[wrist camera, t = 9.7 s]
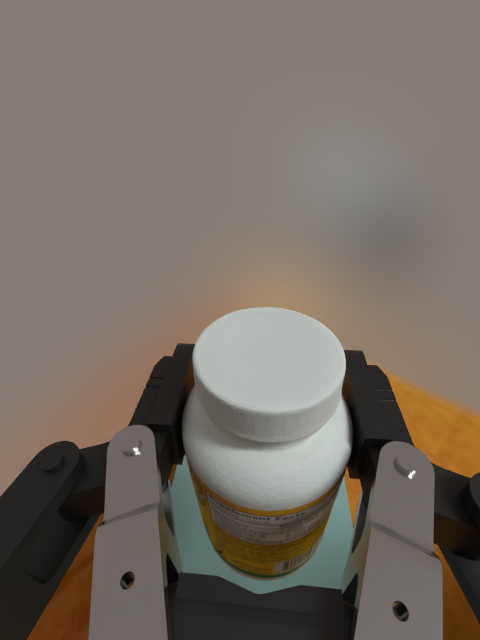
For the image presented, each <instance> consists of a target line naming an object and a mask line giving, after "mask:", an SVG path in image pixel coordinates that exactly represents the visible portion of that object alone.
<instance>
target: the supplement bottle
mask: <svg viewBox="0 0 480 640" xmlns="http://www.w3.org/2000/svg"><path fill="white" fill-rule="evenodd" d="M192 362H193V372H194V380H195V385H194V387H193V389H192V390H191V392H190V394H189V396H188V398H187V401H186V403H185V407H184V410H183V416H182V439H183V445H184V450H185V454H186V458H187V462H188V466H189V471H190V474H191V479H192V482H193V486H194V490H195V493H196V497H197V500H198V504H199V508H200V512H201V516H202V520H203V523H204V526H205V529H206V532H207V535H208V538H209V540H210V542H211V545H212V547H213V549H214V550H215V552H216V554H217V555H218V557H219V558H220V559H221V560H222V561H223V562H224V563H225V564H226V565H227V566H228V567H229V568H231V569H232V570H233V571H235V572H236V573H238V574H240V575H242V576H245V577H247V578H251V579H254V580H259V581H273V580H279V579H283V578H286V577H288V576H290V575H292V574H294V573H296V572H297V571H299V570H300V569H301V568H303V567H304V566H305V565H306V564H307V563H308V562H309V561H310V559H311V558H312V557H313V555H314V554H315V552H316V551H317V549H318V546H319V544H320V542H321V540H322V538H323V535H324V532H325V529H326V526H327V523H328V520H329V516H330V513H331V510H332V508H333V505H334V502H335V499H336V497H337V494H338V491H339V488H340V486H341V483H342V480H343V477H344V474H345V471H346V468H347V465H348V462H349V459H350V455H351V450H352V445H353V425H352V419H351V415H350V411H349V408H348V406H347V403H346V401H345V399H344V397H343V396H342V394H341V393H342V385H343V380H344V376H345V370H346V359H345V353H344V350H343V348H342V346H341V344H340V342H339V340H338V339H337V338H336V336H335V335H334V334H333V333H332V332H331V331H330V330H329V329H328V328H327V327H325V326H324V325H323V324H321V323H320V322H319V321H317V320H315V319H313V318H311V317H309V316H307V315H304V314H301V313H299V312H295V311H291V310H287V309H282V308H273V307H260V308H250V309H242V310H238V311H235V312H232V313H229V314H227V315H225V316H222V317H221V318H219V319H217V320H215V321H214V322H213V323H211V324H210V325H209V326H208V327H207V328H205V329H204V330H203V332H202V333H201V334H200V336H199V337H198V339H197V341H196V343H195V346H194V350H193V354H192Z"/></svg>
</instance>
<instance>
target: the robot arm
mask: <svg viewBox="0 0 480 640" xmlns="http://www.w3.org/2000/svg"><path fill="white" fill-rule="evenodd" d="M194 346H195V344H178V345H177V346H176V348H175V351H174V354H173V356H172V357H170V356H164V357H163V358H162V359H161V360H160V361H159V362H158V363H157V364H156V365H155V366H154V368H153V371H152V373H151V375H150V379H149V380H148V382H147V384H146V388H145V389H144V391H143V394H142V396H141V398H140V401H139V403H138V405H137V408H136V410H135V412H134V414H133V417H132V419H131V422H130V424H129V426H128V427H126V428H124V429H122V430H121V431H119V432H118V433H117V434H116V435H115V436H114V437H113V438H112V440H111V441H109V442H107V443H104V444H100V445H96V446H92V447H87V448H83V449H79V448H78V447H77V446H76V445H75V444H74V443H72V442H68V441H61V442H57V443H54V444H51V445H49V446H48V447H46V448H44V449H43V450H42V451H40V452H39V453H38V454H37V455H36V456H35V457H34V458H33V460H32V461H31V462H30V463H29V464H28V465H27V466H26V468H25V469H24V470H23V471H22V472H21V474H20V475H19V476H18V477H17V478H16V479H15V480H14V482H13V483H12V484H11V485H10V486H9V487H8V489H7V490H6V491H5V492H4V493H3V494H2V496H1V497H0V640H27V638H28V636H29V635H30V633H31V631H32V629H33V628H34V626H35V624H36V623H37V621H38V619H39V618H40V616H41V614H42V613H43V611H44V609H45V607H46V606H47V604H48V602H49V601H50V599H51V597H52V596H53V594H54V592H55V591H56V589H57V587H58V586H59V584H60V582H61V580H62V579H63V577H64V575H65V574H66V572H67V570H68V569H69V567H70V565H71V564H72V562H73V560H74V559H75V557H76V555H77V553H78V552H79V550H80V548H81V547H82V545H83V543H84V542H85V540H86V538H87V537H88V535H89V533H90V532H91V530H92V528H93V526H94V525H95V523H96V521H97V520H98V518H99V516H100V515H101V513H104V519H103V522H102V523H101V524H99V525H98V527H97V530H96V535H95V544H94V559H93V575H92V590H91V606H90V622H89V637H88V640H443V573H442V565H441V561H440V559H439V557H438V556H437V555H436V554H435V552H434V547H433V543H435V544H437V545H438V546H439V548H440V549H441V551H442V553H443V555H444V557H445V559H446V561H447V563H448V565H449V566H450V568H451V570H452V572H453V574H454V576H455V578H456V580H457V582H458V584H459V585H460V587H461V589H462V591H463V593H464V595H465V597H466V599H467V601H468V603H469V604H470V606H471V608H472V610H473V612H474V614H475V616H476V618H477V620H478V621H479V623H480V473H477V474H475V475H474V476H473V477H472V478H469V477H466V476H463V475H460V474H457V473H455V472H452V471H449V470H446V469H443V468H441V467H439V466H437V465H435V464H433V463H432V462H430V460H429V459H428V458H427V456H426V455H425V454H424V453H423V452H422V451H420V450H419V449H418V448H416V447H415V446H414V444H413V442H412V440H411V437H410V435H409V432H408V429H407V427H406V424H405V422H404V419H403V416H402V414H401V411H400V409H399V406H398V403H397V402H396V398H395V396H394V393H393V391H392V388H391V385H390V383H389V380H388V378H387V376H386V375H385V374H384V373H383V372H382V370H381V369H380V368H379V367H378V366H377V365H367V362H366V359H365V356H364V354H363V352H362V351H357V350H344V353H345V359H346V370H345V376H344V380H343V385H342V393H341V394H342V396H343V397H344V399H345V401H346V403H347V406H348V408H349V411H350V415H351V419H352V425H353V445H352V450H351V455H350V459H349V462H348V465H347V467H348V472H349V477H350V478H354V479H360V482H361V487H362V492H361V495H360V499H359V504H358V509H357V514H356V519H355V524H354V530H353V535H352V540H351V545H350V550H349V555H348V559H347V562H346V565H345V569H344V572H343V576H342V580H341V584H340V589H334V588H325V587H316V586H307V585H298V586H294V587H290V588H285V589H281V590H277V591H273V592H269V593H264V594H256V593H253V592H251V591H249V590H247V589H245V588H243V587H241V586H239V585H236V584H234V583H232V582H230V581H228V580H226V579H224V578H222V577H219V576H214V575H205V574H195V573H186V572H183V568H182V562H181V556H180V551H179V547H178V542H177V536H176V527H175V519H174V511H173V502H172V494H171V486H170V479H169V477H170V473H171V470H172V466H173V464H176V465H182V463H183V459H184V455H185V450H184V445H183V439H182V416H183V410H184V407H185V403H186V401H187V398H188V396H189V394H190V392H191V390H192V389H193V387H194V385H195V380H194V372H193V362H192V354H193V350H194Z"/></svg>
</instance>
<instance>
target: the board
mask: <svg viewBox="0 0 480 640" xmlns="http://www.w3.org/2000/svg"><path fill="white" fill-rule="evenodd" d="M171 494H172V502H173V511H174V519H175V527H176V536H177V542H178V547H179V551H180V556H181V562H182V568H183V572H186V573H195V574H205V575H214V576H219V577H222V578H224V579H226V580H228V581H230V582H232V583H234V584H236V585H239V586H241V587H243V588H245V589H247V590H249V591H251V592H253V593H256V594H264V593H269V592H273V591H277V590H281V589H285V588H290V587H294V586H298V585H307V586H316V587H325V588H334V589H340V584H341V580H342V576H343V572H344V569H345V565H346V562H347V559H348V555H349V550H350V545H351V540H352V535H353V525H352V520H351V514H350V508H349V503H348V497H347V491H346V485H345V480H344V477H343V480H342V483H341V486H340V488H339V491H338V494H337V497H336V499H335V502H334V505H333V508H332V510H331V513H330V516H329V520H328V523H327V526H326V529H325V532H324V535H323V538H322V540H321V542H320V544H319V546H318V549H317V551H316V552H315V554H314V555H313V557H312V558H311V559H310V561H309V562H308V563H307V564H306V565H305V566H304V567H303V568H301V569H300V570H299V571H297V572H296V573H294V574H292V575H290V576H288V577H286V578H283V579H279V580H273V581H259V580H254V579H251V578H247V577H245V576H242V575H240V574H238V573H236V572H235V571H233V570H232V569H231V568H229V567H228V566H227V565H226V564H225V563H224V562H223V561H222V560H221V559H220V558H219V557H218V555H217V554H216V552H215V550H214V549H213V547H212V545H211V542H210V540H209V538H208V535H207V532H206V529H205V526H204V523H203V520H202V516H201V512H200V508H199V504H198V500H197V497H196V493H195V490H194V486H193V482H192V479H191V474H190V471H189V466H188V462H187V458H186V455H184V459H183V463H182V465H177V467H176V471H175V475H174V479H173V483H172V487H171Z"/></svg>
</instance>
